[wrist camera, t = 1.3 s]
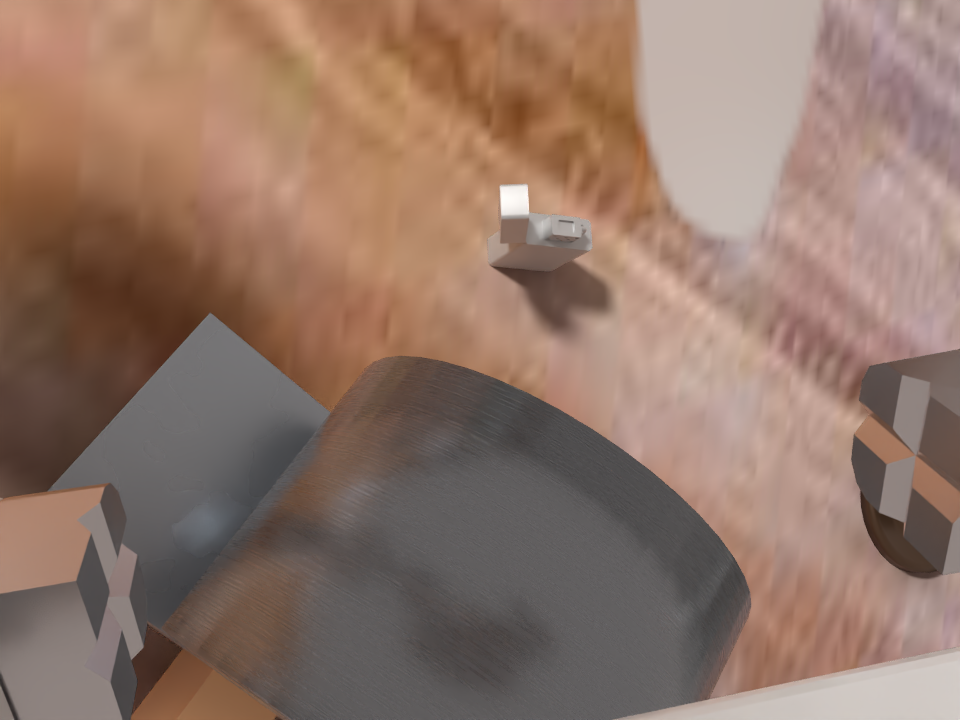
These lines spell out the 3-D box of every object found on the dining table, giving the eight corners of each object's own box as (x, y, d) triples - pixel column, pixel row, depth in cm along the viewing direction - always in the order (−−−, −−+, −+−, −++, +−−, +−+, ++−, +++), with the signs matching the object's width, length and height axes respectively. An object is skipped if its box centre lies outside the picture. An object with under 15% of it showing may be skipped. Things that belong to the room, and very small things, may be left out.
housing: (377, 790, 43) (837, 1114, 18) (22, 533, 39) (3, 508, 14) (468, 643, 46) (962, 751, 22) (150, 391, 42) (318, 168, 17)
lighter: (551, 243, 53) (630, 196, 46) (552, 271, 53) (632, 229, 46) (438, 231, 50) (505, 179, 43) (439, 261, 50) (506, 214, 43)
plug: (152, 801, 39) (178, 856, 32) (95, 762, 38) (108, 810, 31) (321, 568, 44) (376, 571, 37) (273, 530, 43) (319, 526, 36)
